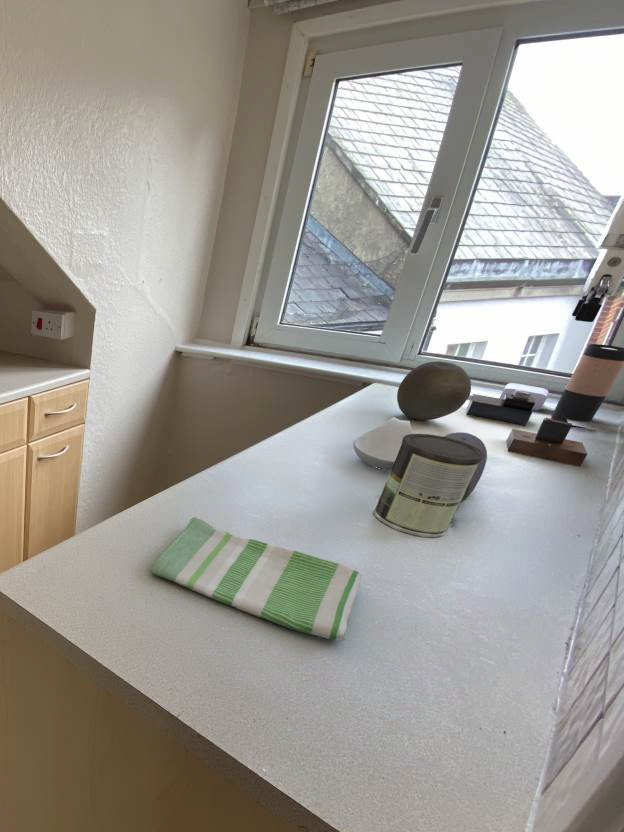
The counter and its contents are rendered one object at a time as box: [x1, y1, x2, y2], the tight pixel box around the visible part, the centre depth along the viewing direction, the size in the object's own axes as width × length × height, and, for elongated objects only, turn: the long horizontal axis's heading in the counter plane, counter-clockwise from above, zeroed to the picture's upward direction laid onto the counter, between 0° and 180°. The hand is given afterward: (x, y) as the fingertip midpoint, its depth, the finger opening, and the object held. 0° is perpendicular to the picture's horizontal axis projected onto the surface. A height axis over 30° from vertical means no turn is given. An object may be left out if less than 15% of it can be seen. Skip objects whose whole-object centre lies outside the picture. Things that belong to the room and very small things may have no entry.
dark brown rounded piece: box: [396, 360, 472, 421], centre depth 138 cm, size 14×14×15 cm
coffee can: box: [373, 433, 484, 538], centre depth 89 cm, size 10×10×14 cm
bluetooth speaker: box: [442, 431, 488, 504], centre depth 100 cm, size 23×9×10 cm, turn 134°
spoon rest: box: [352, 417, 414, 471], centre depth 116 cm, size 24×12×7 cm, turn 140°
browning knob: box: [535, 417, 573, 444], centre depth 121 cm, size 4×2×5 cm, turn 50°
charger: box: [499, 382, 550, 411], centre depth 159 cm, size 5×9×15 cm
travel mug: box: [550, 343, 624, 429], centre depth 139 cm, size 8×8×20 cm
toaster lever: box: [512, 390, 530, 400], centre depth 142 cm, size 3×3×2 cm
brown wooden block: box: [506, 428, 588, 468], centre depth 123 cm, size 12×9×3 cm
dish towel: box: [149, 516, 362, 642], centre depth 75 cm, size 18×23×3 cm
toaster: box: [465, 393, 535, 427], centre depth 145 cm, size 12×9×6 cm
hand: (581, 318), depth 134 cm, fingers open, 9 cm apart
